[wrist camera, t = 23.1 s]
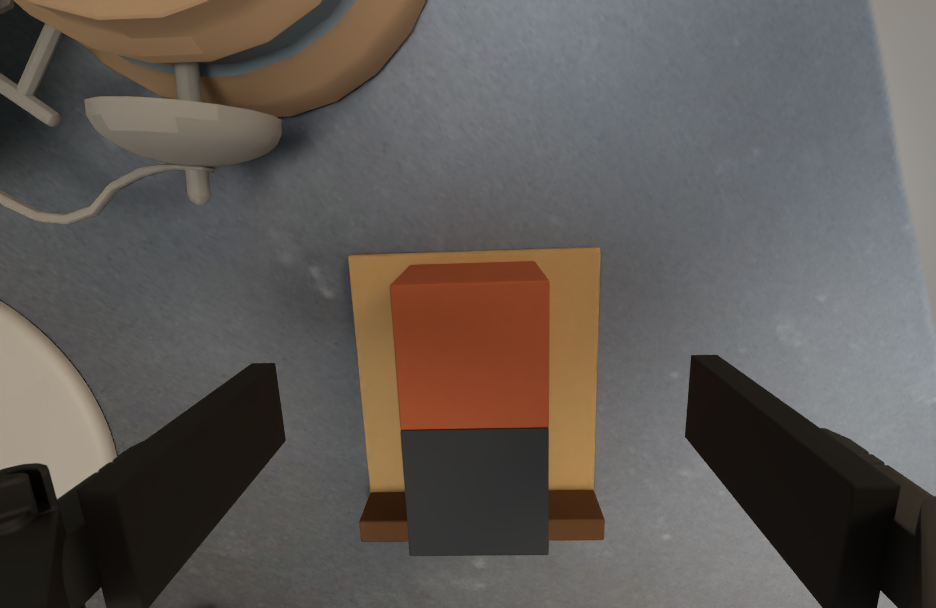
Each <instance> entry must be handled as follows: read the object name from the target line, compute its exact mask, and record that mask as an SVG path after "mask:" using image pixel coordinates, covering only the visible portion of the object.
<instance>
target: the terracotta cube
mask: <svg viewBox="0 0 936 608" xmlns="http://www.w3.org/2000/svg"><path fill="white" fill-rule="evenodd" d="M390 298H391V312H392V325H393V338H394V351H395V364H396V378H397V391H398V404H399V417H400V428H401V430H415V429H474V428H533V427H549V343H550V281H549V280H548V278H547V277H546V276H545V274H544V273H543V271H542V270H541V269H540V267H539V266H538V265H537V263H536V262H535V261H519V262H486V263H453V264H420V265H409V266H408V267H407V268H406V270H405V271H404V272H403V273H402V274H401V275H400V276H399V277H398V278H397V279H396V280H395V281H394V282H393V283H392V284H391V285H390Z"/></svg>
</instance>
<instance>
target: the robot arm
mask: <svg viewBox="0 0 936 608" xmlns="http://www.w3.org/2000/svg"><path fill="white" fill-rule="evenodd" d="M685 437H686V438H687V440H688V441H689V442H690V443H691V445H692V446H693V447H694V448H695V450H696V451H697V452H698V453H699V455H700V456H701V457H702V458H703V460H704V461H705V462H706V463H707V465H708V466H709V467H710V468H711V469H712V471H713V472H714V473H715V474H716V476H717V477H718V478H719V479H720V481H721V482H722V483H723V484H724V486H725V487H726V488H727V489H728V491H729V492H730V493H731V494H732V496H733V497H734V498H735V499H736V501H737V502H738V503H739V504H740V506H741V507H742V508H743V509H744V511H745V512H746V513H747V514H748V515H749V517H750V518H751V519H752V520H753V522H754V523H755V524H756V525H757V527H758V528H759V529H760V530H761V532H762V533H763V534H764V535H765V537H766V538H767V539H768V540H769V542H770V543H771V544H772V545H773V547H774V548H775V549H776V550H777V552H778V553H779V554H780V555H781V557H782V558H783V559H784V560H785V562H786V563H787V564H788V565H789V566H790V568H791V569H792V570H793V571H794V573H795V574H796V575H797V576H798V578H799V579H800V580H801V581H802V583H803V584H804V585H805V586H806V588H807V589H808V590H809V591H810V593H811V594H812V595H813V596H814V598H815V599H816V600H817V601H818V603H819V604H820V605H821V606H822V608H877V604H878V599H879V594H880V590H881V591H882V592H883V593H884V594H885V595H886V596H887V597H888V598H889V599H890V600H891V601H892V602H893V603H894V604H895V605H896V606H897V607H898V608H936V496H935V497H934V496H932V495H931V494H929V493H928V492H926V491H925V490H924V489H922V488H921V487H919V486H918V485H916V484H915V483H913V482H912V481H910V480H909V479H907V478H906V477H904V476H903V475H902V474H900V473H899V472H897V471H896V470H894V469H893V468H891V467H890V466H888V465H884V462H883V461H881V460H880V459H878V458H877V457H875V456H874V455H872V454H869V453H868V451H866V450H865V449H863V448H862V447H861V446H859V445H858V444H856V443H855V442H853V441H852V440H850V439H848V438H846V437H844V436H841V435H839V434H837V433H835V432H832V431H830V430H828V429H825V428H819V427H817V426H816V425H815V424H813V423H812V422H810V421H809V420H808V419H806V418H805V417H803V416H802V415H801V414H799V413H798V412H796V411H795V410H794V409H792V408H791V407H789V406H788V405H787V404H785V403H784V402H782V401H781V400H780V399H778V398H777V397H775V396H774V395H772V394H771V393H770V392H768V391H767V390H765V389H764V388H763V387H761V386H760V385H758V384H757V383H756V382H754V381H753V380H751V379H750V378H749V377H747V376H746V375H744V374H743V373H742V372H740V371H739V370H737V369H736V368H735V367H733V366H732V365H730V364H729V363H728V362H726V361H725V360H723V359H722V358H720V357H719V356H718V355H691V366H690V379H689V392H688V405H687V418H686V431H685ZM285 441H286V439H285V432H284V425H283V417H282V410H281V403H280V396H279V388H278V381H277V374H276V366H275V363H253V364H251V365H249V366H248V367H246V368H245V369H244V370H242V371H241V372H239V373H238V374H237V375H235V376H234V377H232V378H231V379H230V380H228V381H227V382H226V383H224V384H223V385H221V386H220V387H219V388H217V389H216V390H214V391H213V392H212V393H210V394H209V395H207V396H206V397H205V398H203V399H202V400H201V401H199V402H198V403H196V404H195V405H194V406H192V407H191V408H189V409H188V410H187V411H185V412H184V413H182V414H181V415H180V416H178V417H177V418H176V419H174V420H173V421H171V422H170V423H169V424H167V425H166V426H164V427H163V428H162V429H160V430H159V431H157V432H156V433H155V434H153V435H152V436H150V437H149V438H148V439H146V440H145V441H143V442H141V443H138V444H136V445H134V446H132V447H130V448H129V449H127V450H126V451H124V452H123V453H122V454H120V455H119V456H117V457H116V458H114V459H113V461H112V462H109V463H107V464H106V465H105V466H103V467H102V468H100V469H99V470H98V472H95V473H93V474H92V475H91V476H89V477H88V478H86V479H85V480H83V481H82V482H81V483H79V484H78V485H76V486H75V487H74V488H72V489H71V490H69V491H68V492H67V493H65V494H64V495H62V496H61V497H59V498H58V499H57V497H56V494H55V490H54V486H53V482H52V479H51V475H50V471H49V469H48V467H47V465H44V464H40V463H32V464H22V465H17V466H13V467H8V468H4V469H1V470H0V608H86V605H85V603H86V602H87V601H88V600H89V599H90V598H91V597H92V596H93V595H94V594H95V593H96V592H97V591H98V590H99V588H100V587H101V588H102V591H103V595H104V599H105V603H106V607H107V608H149V607H150V605H151V604H152V603H153V602H154V600H155V599H156V598H157V597H158V596H159V594H160V593H161V592H162V591H163V589H164V588H165V587H166V586H167V585H168V583H169V582H170V581H171V580H172V579H173V577H174V576H175V575H176V574H177V572H178V571H179V570H180V569H181V568H182V566H183V565H184V564H185V563H186V561H187V560H188V559H189V558H190V557H191V555H192V554H193V553H194V552H195V550H196V549H197V548H198V547H199V546H200V544H201V543H202V542H203V541H204V540H205V538H206V537H207V536H208V535H209V533H210V532H211V531H212V530H213V529H214V527H215V526H216V525H217V524H218V522H219V521H220V520H221V519H222V518H223V516H224V515H225V514H226V513H227V511H228V510H229V509H230V508H231V507H232V505H233V504H234V503H235V502H236V501H237V499H238V498H239V497H240V496H241V494H242V493H243V492H244V491H245V490H246V488H247V487H248V486H249V485H250V483H251V482H252V481H253V480H254V479H255V477H256V476H257V475H258V474H259V472H260V471H261V470H262V469H263V468H264V466H265V465H266V464H267V463H268V462H269V460H270V459H271V458H272V457H273V455H274V454H275V453H276V452H277V451H278V449H279V448H280V447H281V446H282V444H283V443H284V442H285Z"/></svg>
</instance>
